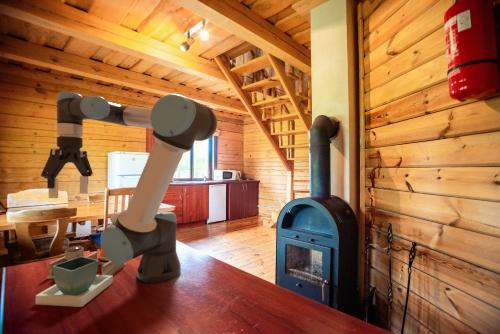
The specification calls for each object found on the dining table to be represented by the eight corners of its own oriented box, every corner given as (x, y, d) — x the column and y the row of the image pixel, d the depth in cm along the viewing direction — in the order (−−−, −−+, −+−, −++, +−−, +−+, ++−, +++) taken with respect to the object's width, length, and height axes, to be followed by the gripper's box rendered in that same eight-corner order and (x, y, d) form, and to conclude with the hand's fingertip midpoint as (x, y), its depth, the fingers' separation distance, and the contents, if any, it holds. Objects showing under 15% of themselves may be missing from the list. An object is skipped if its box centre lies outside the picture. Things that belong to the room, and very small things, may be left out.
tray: (112, 282, 83) (112, 275, 83) (81, 306, 69) (81, 298, 69) (73, 280, 84) (73, 273, 84) (35, 304, 70) (35, 295, 70)
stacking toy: (142, 251, 113) (142, 209, 112) (122, 264, 98) (122, 216, 98) (113, 250, 114) (113, 208, 114) (90, 262, 100) (90, 214, 100)
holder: (125, 264, 98) (125, 252, 98) (102, 281, 84) (102, 267, 84) (77, 262, 99) (77, 250, 99) (46, 278, 85) (46, 264, 85)
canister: (86, 267, 95) (87, 245, 94) (75, 274, 89) (75, 250, 89) (73, 267, 95) (73, 245, 95) (61, 273, 89) (61, 250, 89)
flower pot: (99, 287, 79) (99, 259, 79) (71, 301, 70) (71, 271, 70) (80, 282, 82) (80, 255, 82) (51, 295, 74) (51, 266, 73)
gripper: (85, 140, 101) (85, 191, 101) (26, 132, 76) (26, 200, 76) (102, 140, 100) (102, 191, 101) (49, 132, 75) (48, 200, 76)
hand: (69, 195), depth 88 cm, fingers open, 13 cm apart
